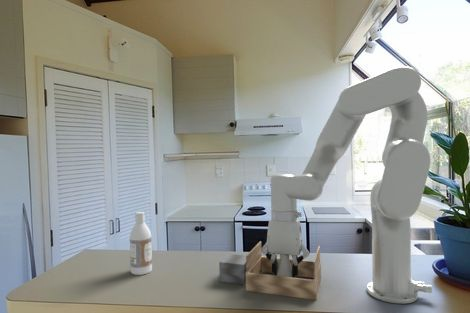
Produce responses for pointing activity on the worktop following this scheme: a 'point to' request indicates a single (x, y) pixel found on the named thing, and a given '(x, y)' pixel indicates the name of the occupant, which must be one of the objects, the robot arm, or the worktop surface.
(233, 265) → the stand
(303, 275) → the wooden box
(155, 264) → the worktop surface
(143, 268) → the bath foam
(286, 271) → the flask
